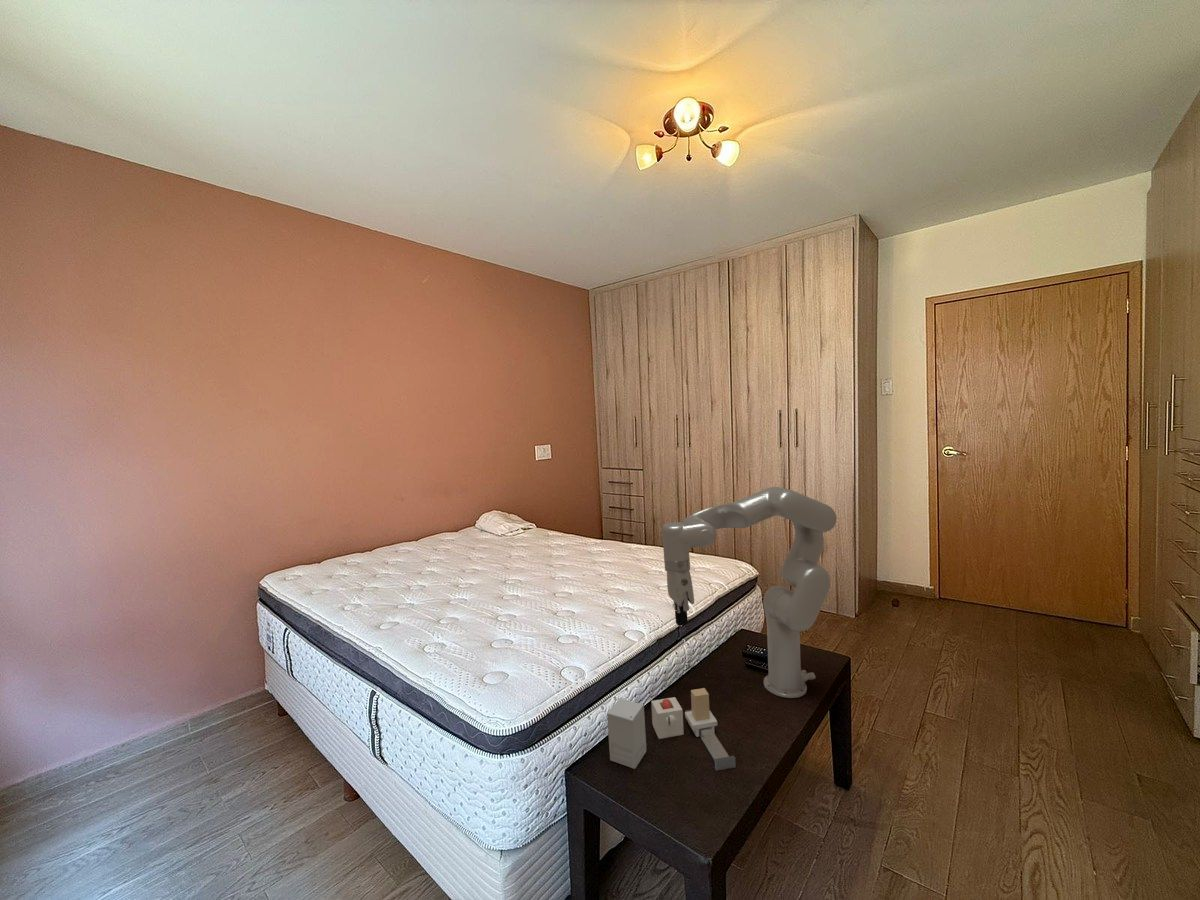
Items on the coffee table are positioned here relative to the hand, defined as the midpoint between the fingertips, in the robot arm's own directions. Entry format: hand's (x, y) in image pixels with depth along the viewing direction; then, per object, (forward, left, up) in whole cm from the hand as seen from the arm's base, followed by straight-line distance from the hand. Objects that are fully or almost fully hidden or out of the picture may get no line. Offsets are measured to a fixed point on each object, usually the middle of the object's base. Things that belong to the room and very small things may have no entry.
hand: (681, 623), depth 138 cm
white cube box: (+9, +11, -24) cm, 28 cm away
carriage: (0, +13, -24) cm, 27 cm away
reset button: (+9, +11, -21) cm, 26 cm away
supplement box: (+22, +18, -25) cm, 38 cm away
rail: (0, +18, -24) cm, 30 cm away
